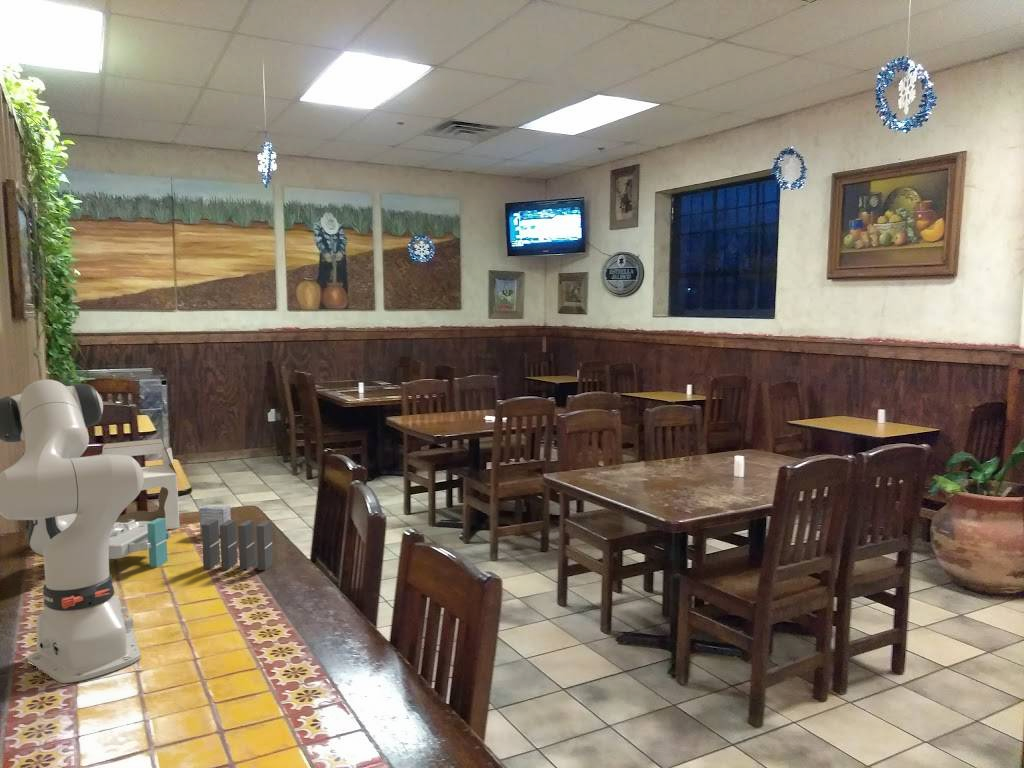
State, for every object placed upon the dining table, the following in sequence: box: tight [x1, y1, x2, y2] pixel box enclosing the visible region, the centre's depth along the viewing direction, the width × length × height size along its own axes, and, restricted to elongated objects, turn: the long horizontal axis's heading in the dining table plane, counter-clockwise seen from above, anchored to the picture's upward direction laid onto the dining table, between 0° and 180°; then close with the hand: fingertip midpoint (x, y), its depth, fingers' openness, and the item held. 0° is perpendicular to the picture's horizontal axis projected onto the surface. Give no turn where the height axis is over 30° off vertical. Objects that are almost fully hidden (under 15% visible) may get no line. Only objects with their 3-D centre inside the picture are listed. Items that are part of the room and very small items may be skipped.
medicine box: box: [198, 504, 232, 537], centre depth 219 cm, size 8×4×9 cm, turn 84°
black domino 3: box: [237, 519, 257, 570], centre depth 191 cm, size 2×5×12 cm, turn 175°
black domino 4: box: [255, 520, 274, 571], centre depth 190 cm, size 2×5×12 cm, turn 175°
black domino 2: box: [219, 519, 239, 570], centre depth 191 cm, size 2×5×12 cm, turn 175°
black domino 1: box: [201, 519, 221, 570], centre depth 191 cm, size 2×5×12 cm, turn 175°
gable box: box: [93, 438, 180, 531], centre depth 223 cm, size 22×13×28 cm, turn 124°
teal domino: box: [147, 518, 168, 568], centre depth 193 cm, size 2×5×12 cm, turn 175°
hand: (159, 540), depth 193 cm, fingers open, 8 cm apart
